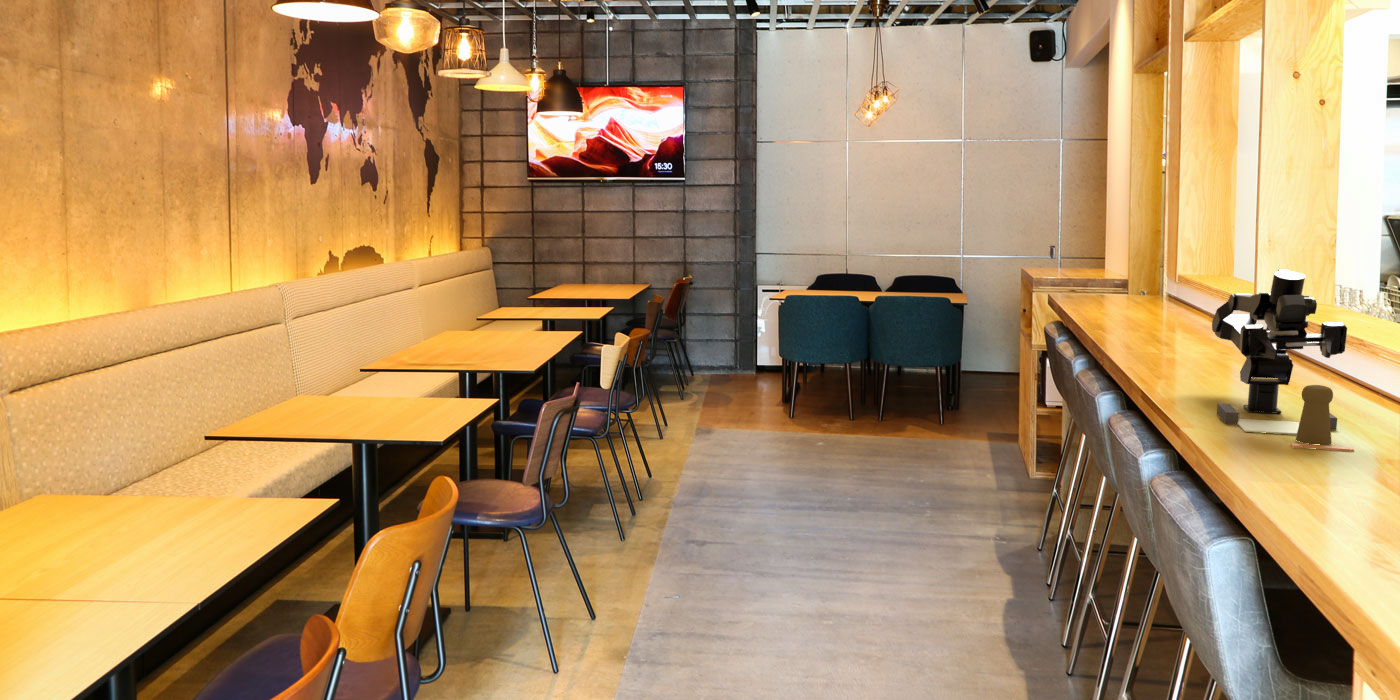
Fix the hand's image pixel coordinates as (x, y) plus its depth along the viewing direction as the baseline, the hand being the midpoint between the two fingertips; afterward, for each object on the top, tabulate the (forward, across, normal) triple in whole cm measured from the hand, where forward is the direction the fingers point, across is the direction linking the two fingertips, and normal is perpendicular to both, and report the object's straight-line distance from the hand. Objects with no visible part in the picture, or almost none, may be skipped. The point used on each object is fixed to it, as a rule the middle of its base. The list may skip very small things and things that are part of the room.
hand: (1302, 356), depth 201 cm
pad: (-1, -4, +17) cm, 17 cm away
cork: (+10, +1, +14) cm, 17 cm away
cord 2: (-7, +7, +19) cm, 22 cm away
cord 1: (-8, -11, +18) cm, 23 cm away
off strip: (+16, +1, +12) cm, 20 cm away
